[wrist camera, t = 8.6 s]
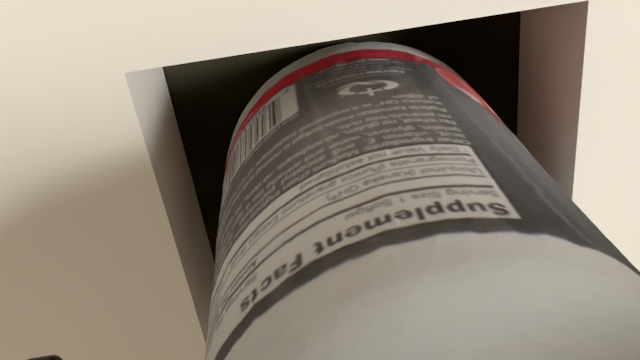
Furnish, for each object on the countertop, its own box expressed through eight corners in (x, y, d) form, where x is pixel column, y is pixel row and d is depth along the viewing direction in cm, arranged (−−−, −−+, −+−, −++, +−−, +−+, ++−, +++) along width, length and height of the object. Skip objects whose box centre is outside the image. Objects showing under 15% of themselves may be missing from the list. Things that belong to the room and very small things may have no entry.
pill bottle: (518, 213, 13) (979, 867, 5) (295, 304, 14) (355, 1019, 6) (441, -18, 11) (1132, 499, 2) (173, 106, 11) (-69, 870, 3)
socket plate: (687, 350, 16) (776, 454, 13) (75, 451, 16) (37, 578, 13) (840, -337, 9) (1090, -415, 6) (-239, -177, 9) (-461, -187, 6)
